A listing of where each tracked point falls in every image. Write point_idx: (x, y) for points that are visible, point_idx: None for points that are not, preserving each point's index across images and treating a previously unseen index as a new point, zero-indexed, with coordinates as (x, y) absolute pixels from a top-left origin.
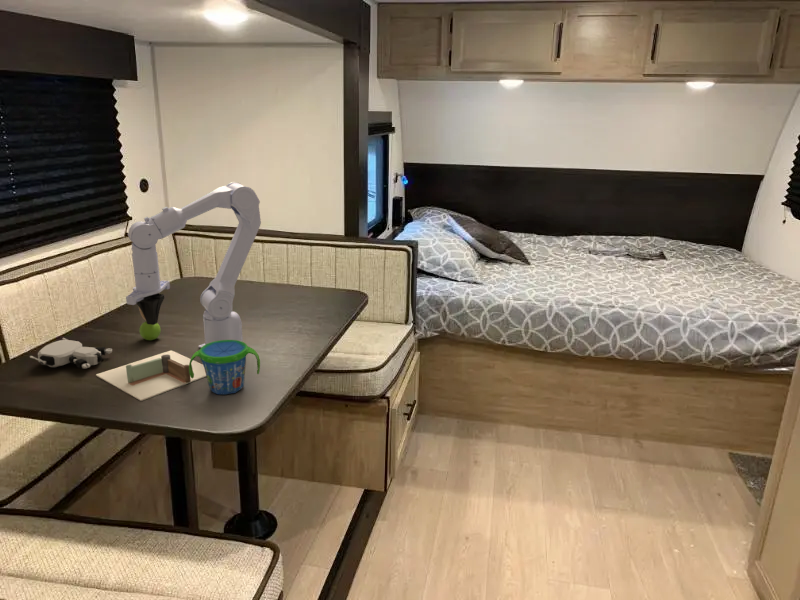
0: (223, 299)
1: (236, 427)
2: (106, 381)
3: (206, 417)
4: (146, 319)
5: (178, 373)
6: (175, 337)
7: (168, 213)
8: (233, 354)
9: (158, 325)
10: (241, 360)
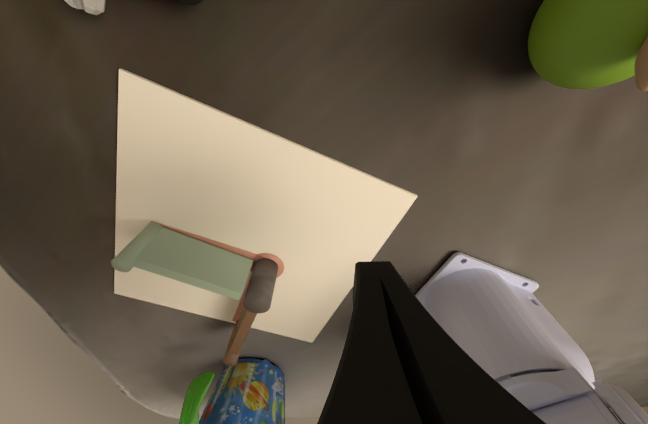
0: None
1: (161, 409)
2: (120, 147)
3: (155, 382)
4: (357, 287)
5: (242, 314)
6: (570, 128)
7: None
8: None
9: (626, 78)
10: None
